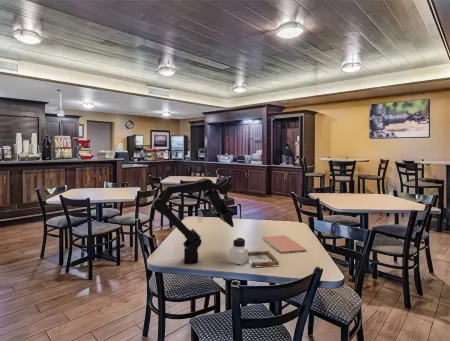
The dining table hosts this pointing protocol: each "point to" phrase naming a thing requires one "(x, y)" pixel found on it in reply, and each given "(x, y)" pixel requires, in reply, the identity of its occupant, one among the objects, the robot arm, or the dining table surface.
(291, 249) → the notebook
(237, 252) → the medicine bottle
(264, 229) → the dining table surface
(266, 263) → the wooden picture frame
